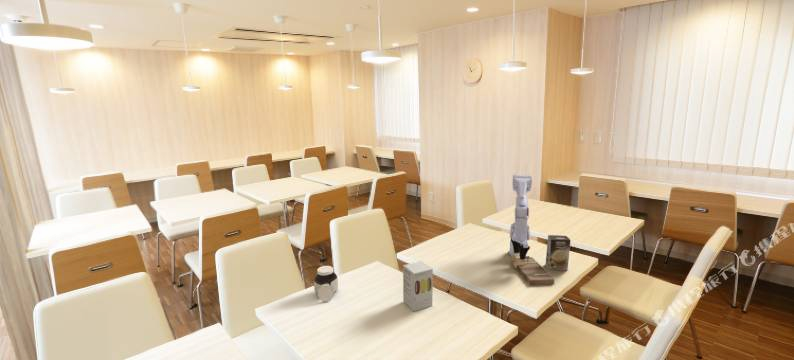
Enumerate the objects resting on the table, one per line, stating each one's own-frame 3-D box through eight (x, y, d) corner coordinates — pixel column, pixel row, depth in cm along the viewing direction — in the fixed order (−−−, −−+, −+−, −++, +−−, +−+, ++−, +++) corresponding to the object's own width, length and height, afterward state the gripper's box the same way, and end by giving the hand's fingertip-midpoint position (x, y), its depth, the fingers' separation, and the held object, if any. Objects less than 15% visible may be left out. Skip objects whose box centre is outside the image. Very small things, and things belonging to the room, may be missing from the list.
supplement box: (413, 312, 153) (413, 273, 150) (402, 301, 161) (401, 264, 158) (433, 305, 158) (433, 268, 154) (421, 295, 166) (421, 260, 162)
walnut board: (511, 262, 196) (511, 258, 196) (531, 261, 197) (532, 257, 196) (530, 285, 173) (530, 280, 172) (553, 284, 173) (554, 278, 173)
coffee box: (548, 270, 187) (551, 239, 184) (545, 264, 193) (547, 234, 190) (568, 270, 186) (570, 239, 183) (563, 264, 192) (566, 235, 189)
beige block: (511, 263, 192) (512, 253, 191) (526, 263, 193) (527, 253, 192) (515, 268, 188) (516, 258, 186) (530, 267, 188) (531, 257, 187)
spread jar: (331, 286, 176) (329, 262, 173) (345, 294, 168) (344, 270, 165) (308, 295, 167) (306, 271, 165) (322, 305, 160) (321, 280, 157)
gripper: (507, 225, 193) (506, 250, 196) (518, 235, 179) (517, 262, 182) (521, 225, 193) (519, 250, 196) (533, 235, 179) (531, 261, 182)
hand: (519, 256), depth 189 cm, fingers open, 7 cm apart
